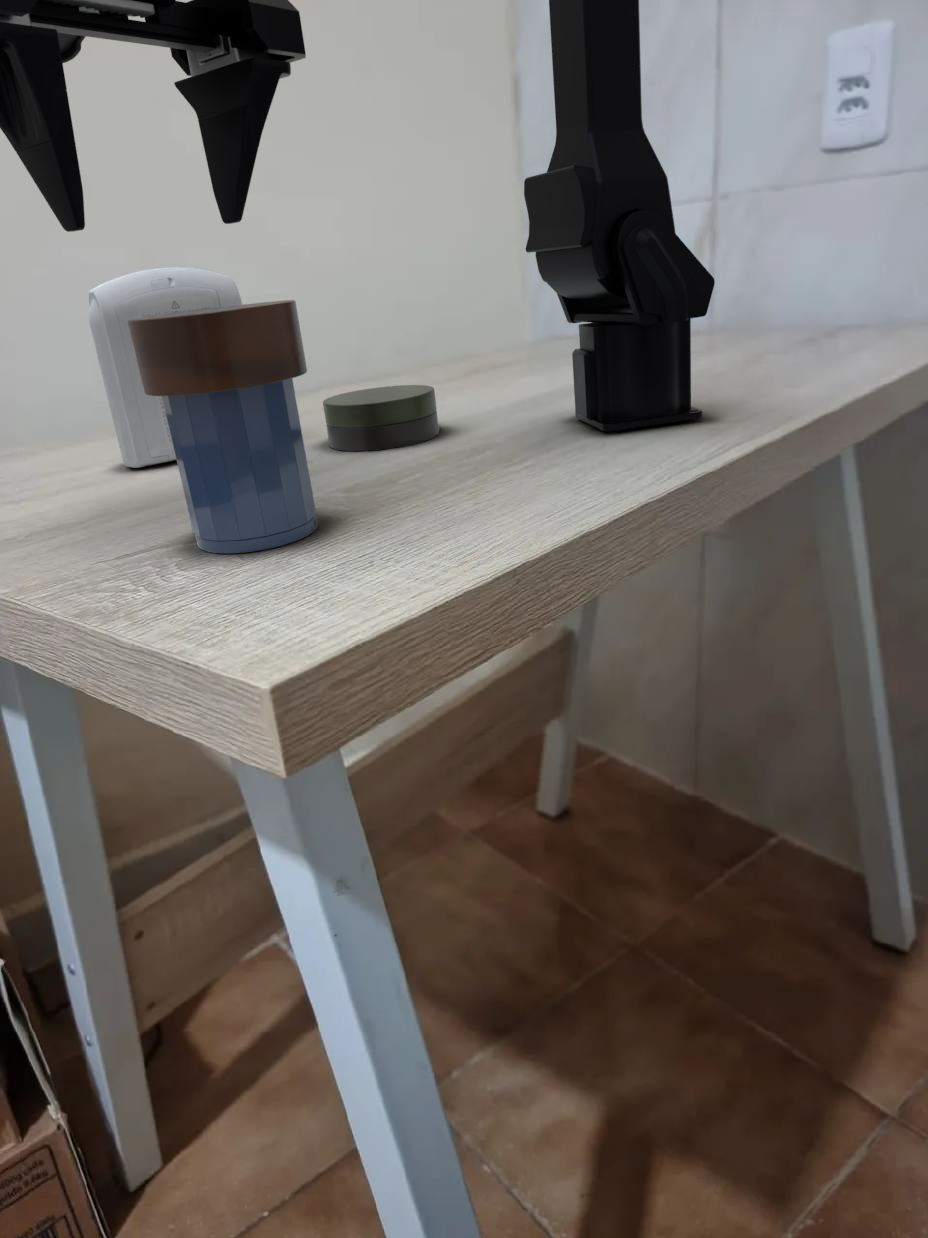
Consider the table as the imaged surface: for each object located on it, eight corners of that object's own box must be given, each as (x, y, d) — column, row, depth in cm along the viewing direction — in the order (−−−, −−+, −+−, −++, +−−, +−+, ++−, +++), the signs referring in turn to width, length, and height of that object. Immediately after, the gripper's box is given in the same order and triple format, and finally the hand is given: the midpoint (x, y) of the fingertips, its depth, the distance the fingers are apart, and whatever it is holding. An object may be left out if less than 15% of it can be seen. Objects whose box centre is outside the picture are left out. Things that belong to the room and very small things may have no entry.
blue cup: (316, 510, 44) (291, 367, 41) (319, 541, 39) (291, 380, 36) (203, 527, 43) (170, 382, 40) (191, 561, 38) (152, 398, 35)
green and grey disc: (430, 422, 64) (425, 380, 63) (447, 440, 57) (442, 393, 56) (327, 436, 63) (320, 394, 62) (332, 456, 56) (324, 409, 55)
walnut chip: (305, 364, 42) (294, 298, 41) (308, 380, 36) (295, 301, 34) (157, 383, 41) (141, 316, 40) (132, 402, 35) (112, 323, 33)
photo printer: (256, 437, 66) (221, 262, 62) (277, 443, 63) (242, 258, 58) (118, 465, 62) (69, 278, 57) (133, 473, 58) (83, 274, 53)
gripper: (140, -76, 48) (203, 235, 54) (-263, -179, 34) (-118, 254, 40) (283, -148, 41) (336, 213, 47) (-139, -310, 28) (11, 227, 34)
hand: (160, 226), depth 42 cm, fingers open, 9 cm apart
